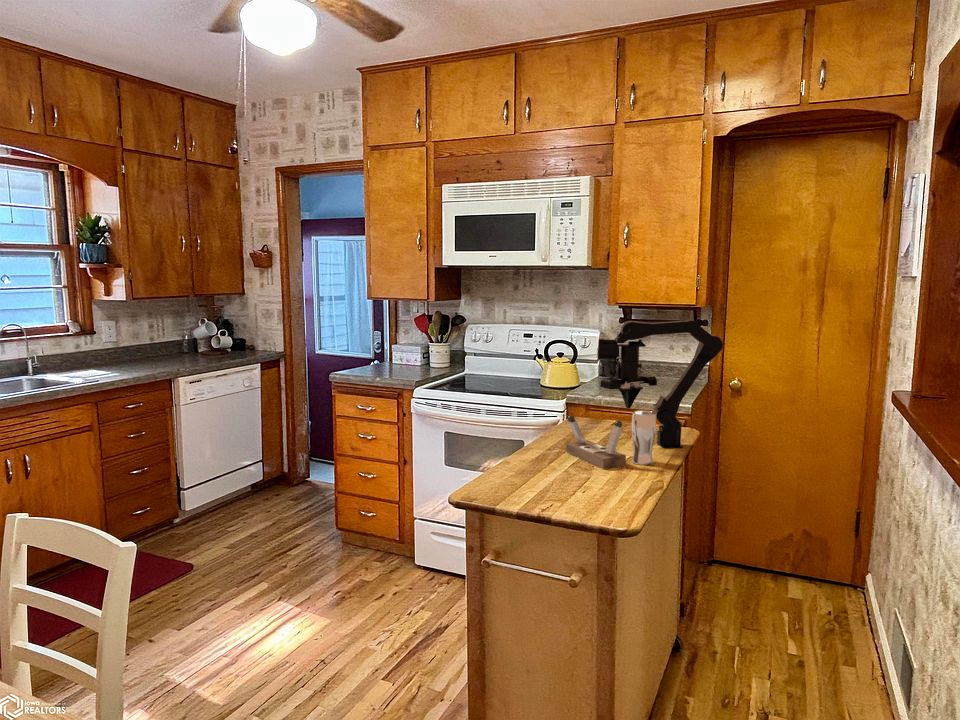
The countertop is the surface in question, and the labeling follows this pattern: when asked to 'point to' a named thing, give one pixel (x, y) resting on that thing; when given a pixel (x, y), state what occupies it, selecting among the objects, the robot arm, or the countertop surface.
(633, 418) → the beer glass
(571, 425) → the lever
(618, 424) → the lever
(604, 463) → the switch box
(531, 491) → the countertop surface
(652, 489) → the countertop surface
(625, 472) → the countertop surface
